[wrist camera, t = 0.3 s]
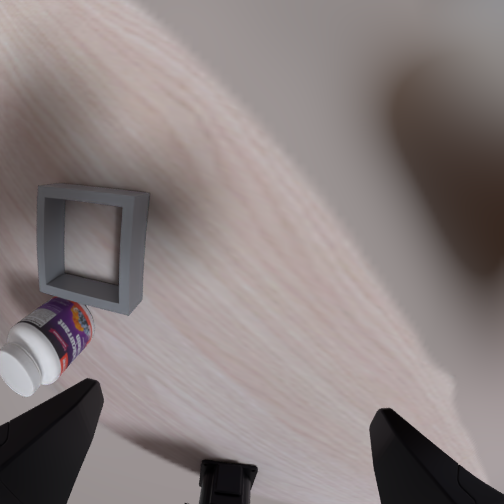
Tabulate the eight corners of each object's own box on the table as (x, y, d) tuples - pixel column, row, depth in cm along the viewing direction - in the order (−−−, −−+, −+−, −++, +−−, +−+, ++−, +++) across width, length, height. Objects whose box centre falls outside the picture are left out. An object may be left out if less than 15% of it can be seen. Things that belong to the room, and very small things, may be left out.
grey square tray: (142, 299, 24) (128, 315, 21) (58, 279, 23) (39, 291, 21) (150, 192, 22) (134, 196, 19) (59, 183, 21) (38, 185, 18)
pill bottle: (101, 346, 25) (51, 412, 16) (58, 340, 25) (4, 395, 16) (89, 293, 24) (23, 348, 14) (45, 290, 24) (-21, 336, 14)
